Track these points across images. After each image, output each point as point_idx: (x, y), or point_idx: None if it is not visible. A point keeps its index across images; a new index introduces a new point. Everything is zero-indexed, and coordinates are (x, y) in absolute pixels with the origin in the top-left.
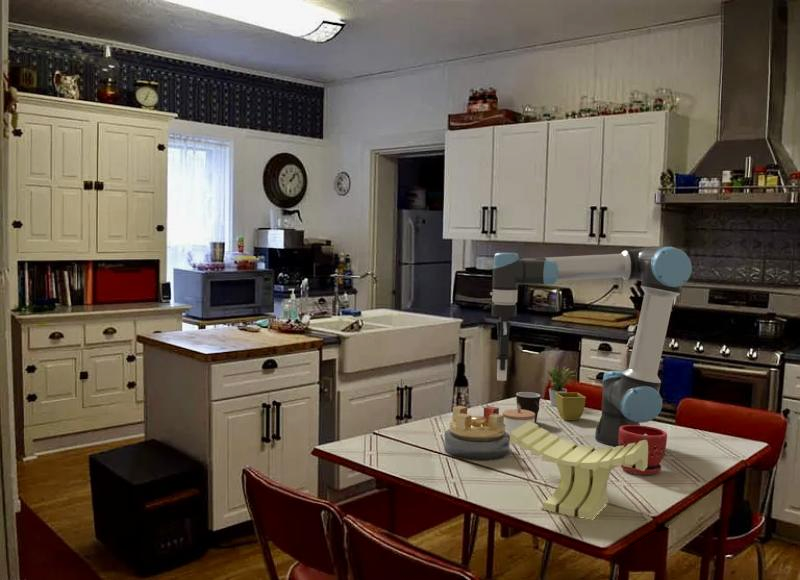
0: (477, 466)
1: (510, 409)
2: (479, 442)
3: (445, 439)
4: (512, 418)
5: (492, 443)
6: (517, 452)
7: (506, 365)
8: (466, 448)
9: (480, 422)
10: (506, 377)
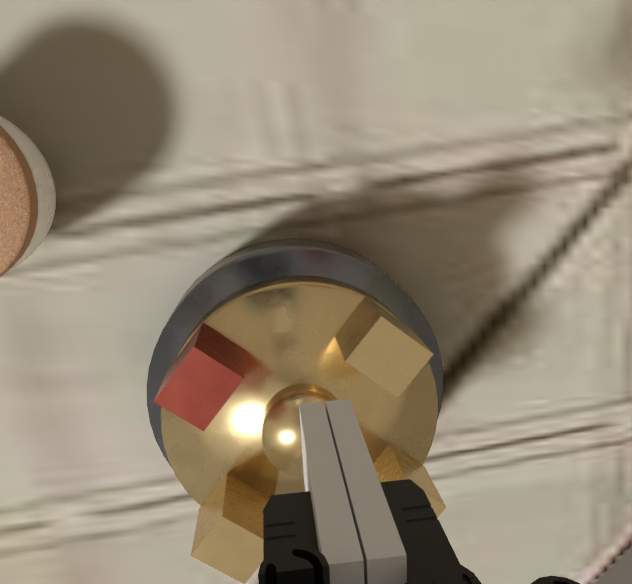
0: (488, 356)
1: None
2: None
3: None
4: (31, 236)
5: (429, 328)
6: (286, 203)
7: (383, 500)
8: None
9: None
10: (353, 414)
